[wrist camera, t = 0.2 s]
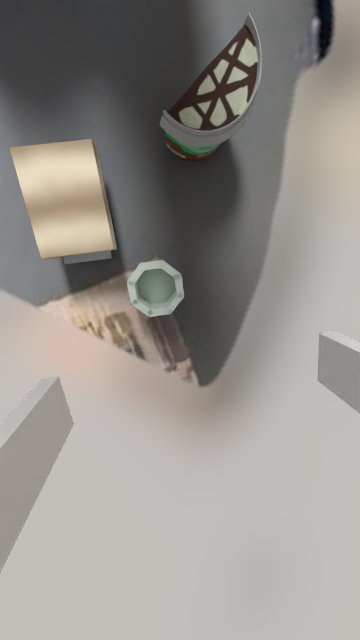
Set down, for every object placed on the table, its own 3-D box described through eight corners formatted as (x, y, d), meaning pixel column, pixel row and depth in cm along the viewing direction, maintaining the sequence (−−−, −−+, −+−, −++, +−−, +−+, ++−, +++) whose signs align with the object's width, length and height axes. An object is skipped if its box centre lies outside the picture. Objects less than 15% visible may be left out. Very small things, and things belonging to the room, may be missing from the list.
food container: (189, 191, 34) (201, 166, 25) (159, 155, 33) (159, 114, 23) (252, 124, 33) (291, 70, 23) (223, 83, 31) (253, 7, 21)
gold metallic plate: (24, 158, 29) (9, 147, 26) (97, 150, 29) (91, 138, 26) (51, 258, 32) (41, 258, 29) (117, 249, 32) (113, 249, 30)
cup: (127, 264, 36) (123, 265, 31) (176, 257, 36) (179, 257, 32) (136, 311, 38) (133, 319, 33) (182, 304, 39) (186, 311, 34)
